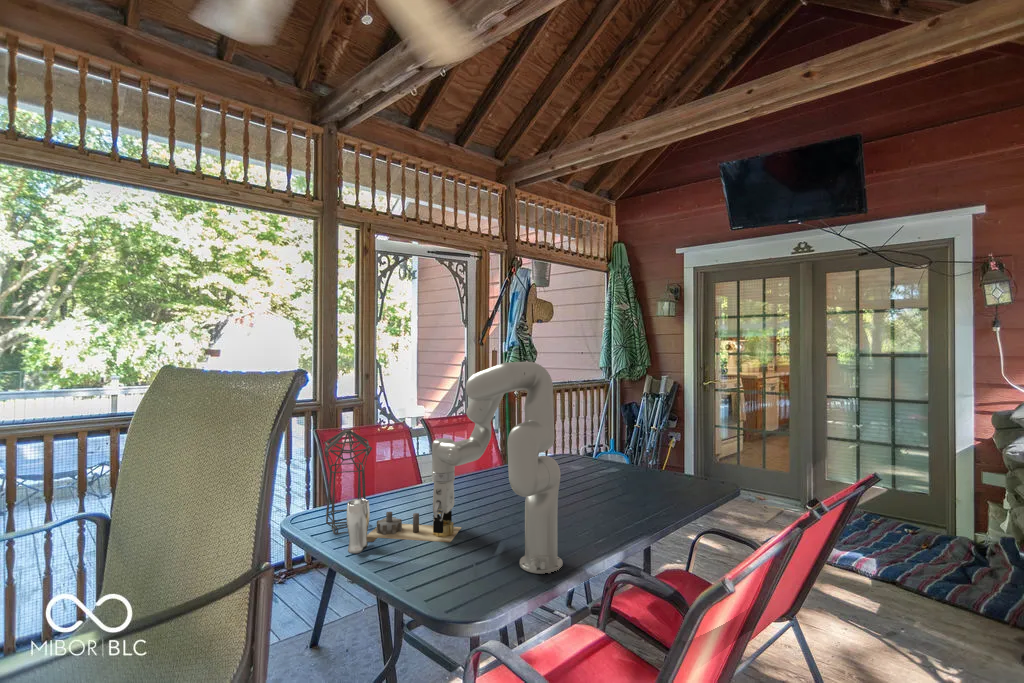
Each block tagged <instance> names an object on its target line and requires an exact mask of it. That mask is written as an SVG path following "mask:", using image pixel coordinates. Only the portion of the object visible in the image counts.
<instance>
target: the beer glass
mask: <svg viewBox="0 0 1024 683" xmlns="http://www.w3.org/2000/svg"><path fill="white" fill-rule="evenodd" d="M346 503H347V505H346V509H347V511H346V518H347V519H346V522H347V523H346V524H347V525H346V527H348V528H347V532H348V537H349V538H348V539H349V540H348V547H347V552H348V553H350V554H354V555H355V554H361V553H362V552H364V550H366V549H367V548H368V546H369V545H368V542H367V535H368V530H369V525H370V524H369V523H370V516H371V515H370V514H371V513H370V500H369V499H363V498H361V499H358V498H357V499H355V498H354V499H351V500H349V501H348V502H346Z"/></svg>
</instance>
